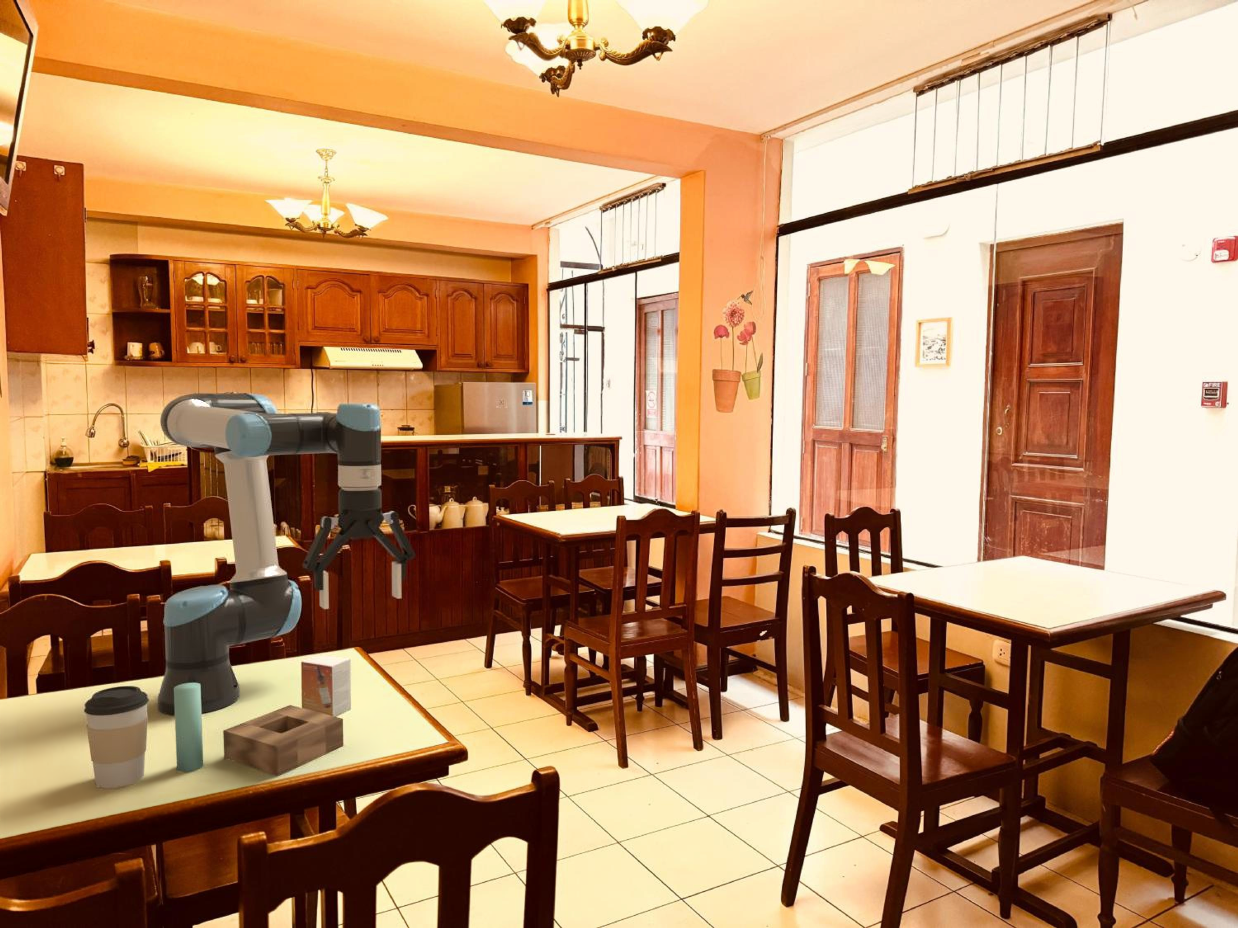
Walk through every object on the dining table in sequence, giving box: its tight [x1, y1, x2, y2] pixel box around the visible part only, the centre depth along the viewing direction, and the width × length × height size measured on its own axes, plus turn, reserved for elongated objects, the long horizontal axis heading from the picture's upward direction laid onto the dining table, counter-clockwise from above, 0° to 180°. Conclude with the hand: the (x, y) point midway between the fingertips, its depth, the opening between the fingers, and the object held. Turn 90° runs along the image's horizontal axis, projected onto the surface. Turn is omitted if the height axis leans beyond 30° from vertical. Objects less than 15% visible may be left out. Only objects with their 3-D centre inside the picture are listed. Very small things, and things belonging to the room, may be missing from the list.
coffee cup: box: [83, 685, 150, 789], centre depth 136 cm, size 9×9×15 cm
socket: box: [222, 704, 344, 777], centre depth 147 cm, size 14×14×5 cm
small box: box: [300, 654, 352, 717], centre depth 166 cm, size 8×6×10 cm
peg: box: [174, 683, 204, 773], centre depth 140 cm, size 4×4×14 cm
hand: (361, 602), depth 152 cm, fingers open, 13 cm apart
